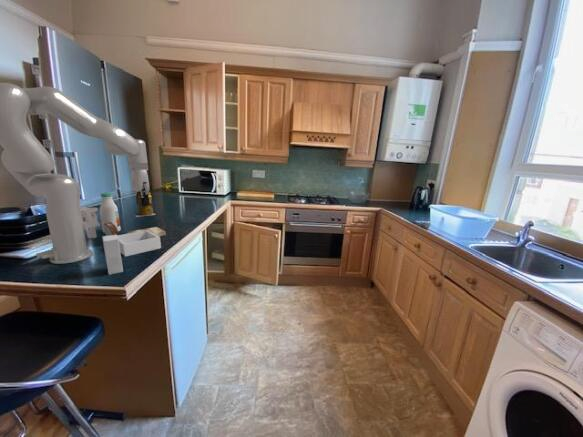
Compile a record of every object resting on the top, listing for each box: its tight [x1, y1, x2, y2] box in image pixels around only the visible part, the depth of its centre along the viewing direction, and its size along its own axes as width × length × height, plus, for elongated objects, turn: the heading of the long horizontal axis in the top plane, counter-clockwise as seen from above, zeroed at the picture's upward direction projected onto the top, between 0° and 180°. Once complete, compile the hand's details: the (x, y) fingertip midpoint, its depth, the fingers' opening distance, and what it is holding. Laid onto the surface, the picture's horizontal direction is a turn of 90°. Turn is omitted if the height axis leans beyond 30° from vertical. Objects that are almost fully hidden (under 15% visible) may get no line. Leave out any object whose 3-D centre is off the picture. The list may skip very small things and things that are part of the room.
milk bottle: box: [99, 192, 122, 234], centre depth 128 cm, size 8×8×20 cm
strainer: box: [80, 206, 101, 239], centre depth 119 cm, size 7×7×15 cm
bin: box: [117, 230, 162, 257], centre depth 108 cm, size 14×15×5 cm
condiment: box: [132, 189, 157, 218], centre depth 122 cm, size 7×8×12 cm
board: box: [126, 226, 167, 237], centre depth 126 cm, size 14×11×2 cm
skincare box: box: [102, 235, 124, 276], centre depth 86 cm, size 6×4×12 cm
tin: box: [104, 222, 120, 236], centre depth 115 cm, size 15×3×8 cm, turn 47°
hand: (143, 204), depth 122 cm, fingers closed on condiment, 6 cm apart
